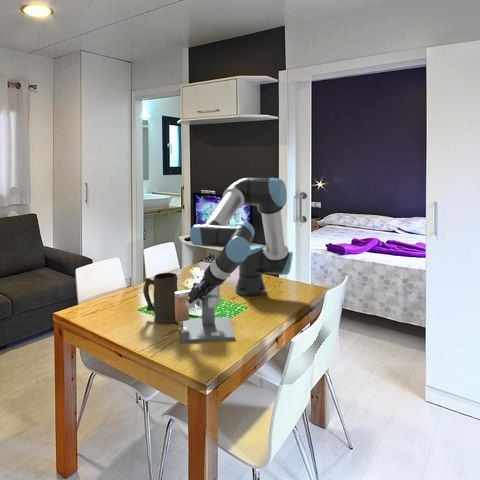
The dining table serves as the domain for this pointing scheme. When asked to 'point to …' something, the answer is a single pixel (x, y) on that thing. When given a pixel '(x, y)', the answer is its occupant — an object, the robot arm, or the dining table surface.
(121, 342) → the dining table surface
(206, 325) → the post on base plate
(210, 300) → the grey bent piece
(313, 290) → the dining table surface
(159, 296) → the beer stein
